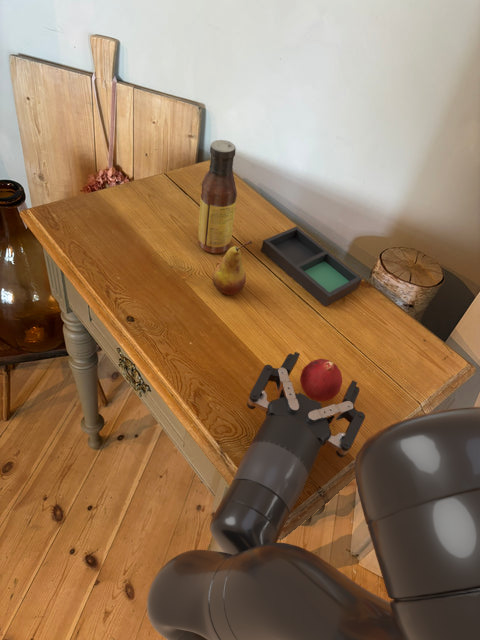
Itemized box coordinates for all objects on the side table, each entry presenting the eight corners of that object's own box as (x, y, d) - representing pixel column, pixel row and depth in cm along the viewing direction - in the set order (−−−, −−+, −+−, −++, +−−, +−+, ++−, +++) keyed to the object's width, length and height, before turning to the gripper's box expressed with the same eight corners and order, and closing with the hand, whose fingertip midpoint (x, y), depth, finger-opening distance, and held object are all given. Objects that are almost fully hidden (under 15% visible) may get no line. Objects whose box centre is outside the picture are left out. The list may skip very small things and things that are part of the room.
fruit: (236, 276, 83) (247, 221, 74) (247, 298, 79) (259, 243, 70) (206, 279, 81) (214, 223, 72) (216, 302, 77) (225, 247, 69)
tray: (293, 236, 93) (296, 226, 91) (357, 288, 85) (362, 278, 84) (260, 250, 88) (263, 240, 87) (325, 307, 81) (329, 296, 79)
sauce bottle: (236, 244, 89) (253, 147, 74) (217, 260, 85) (232, 161, 70) (208, 229, 90) (220, 132, 76) (189, 244, 86) (197, 144, 72)
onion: (287, 392, 67) (300, 360, 62) (310, 371, 71) (325, 338, 65) (318, 419, 65) (335, 387, 59) (340, 395, 68) (358, 364, 63)
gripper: (343, 483, 49) (383, 378, 59) (226, 419, 52) (283, 329, 62) (323, 509, 54) (362, 408, 65) (219, 450, 57) (272, 362, 68)
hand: (324, 370), depth 64 cm, fingers open, 8 cm apart
